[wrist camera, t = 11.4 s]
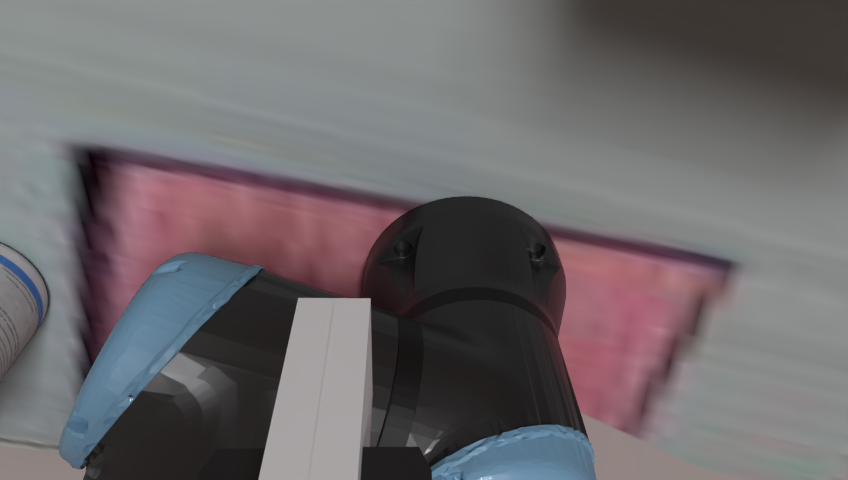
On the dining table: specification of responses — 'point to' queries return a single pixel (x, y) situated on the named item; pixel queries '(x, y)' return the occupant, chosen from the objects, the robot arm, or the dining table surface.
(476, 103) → the dining table surface
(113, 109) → the dining table surface
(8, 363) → the supplement tub
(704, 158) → the dining table surface
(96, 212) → the dining table surface
